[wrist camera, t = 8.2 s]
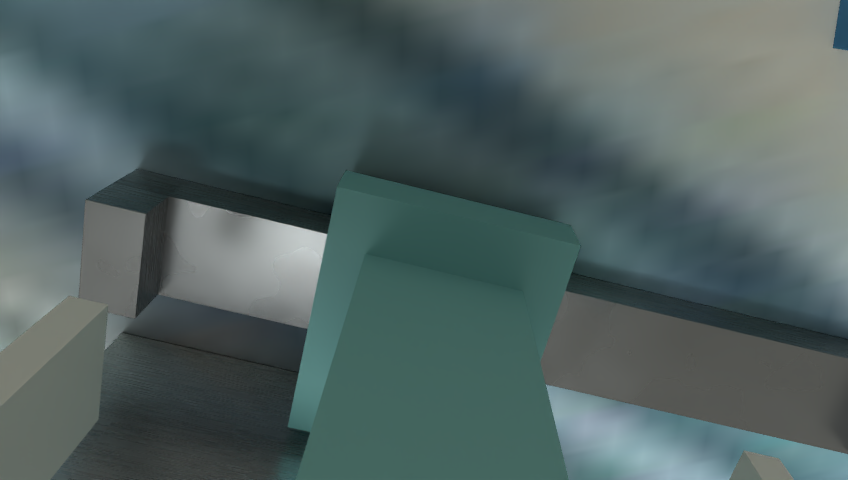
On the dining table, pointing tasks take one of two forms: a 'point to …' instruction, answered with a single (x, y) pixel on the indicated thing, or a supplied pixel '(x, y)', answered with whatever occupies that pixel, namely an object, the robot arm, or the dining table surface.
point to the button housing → (188, 418)
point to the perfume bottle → (842, 27)
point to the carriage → (431, 339)
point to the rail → (567, 344)
